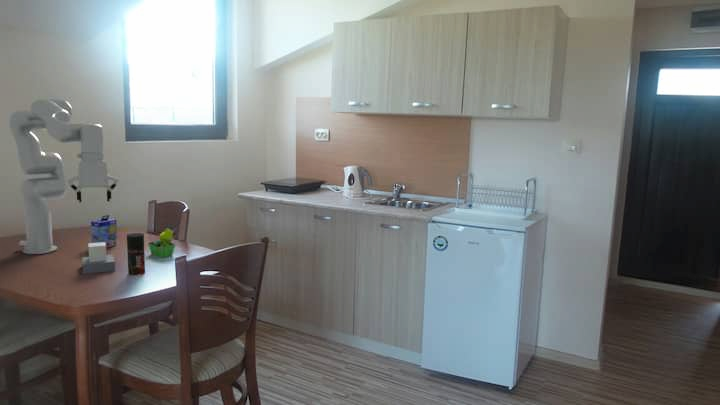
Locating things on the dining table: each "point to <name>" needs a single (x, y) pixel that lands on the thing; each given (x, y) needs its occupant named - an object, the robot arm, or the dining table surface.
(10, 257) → the dining table surface
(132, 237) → the deodorant
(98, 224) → the ink cartridge box
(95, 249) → the cream cube
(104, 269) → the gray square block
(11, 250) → the dining table surface
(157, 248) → the green potted plant
